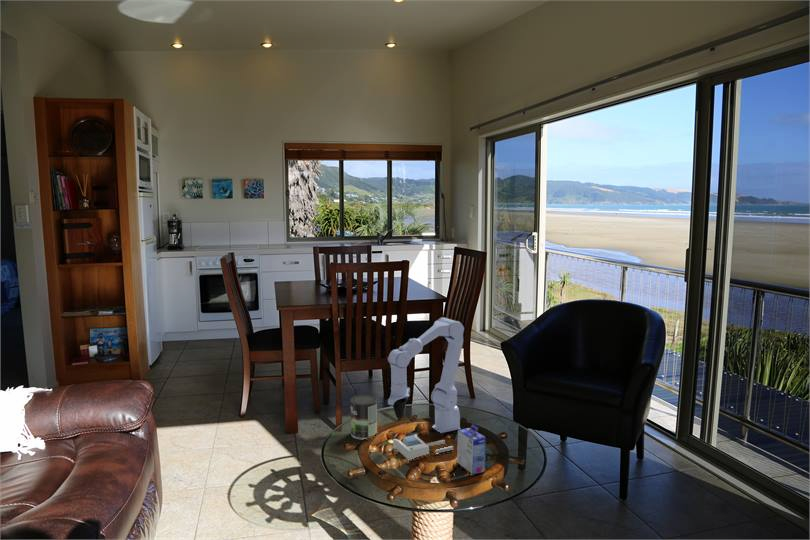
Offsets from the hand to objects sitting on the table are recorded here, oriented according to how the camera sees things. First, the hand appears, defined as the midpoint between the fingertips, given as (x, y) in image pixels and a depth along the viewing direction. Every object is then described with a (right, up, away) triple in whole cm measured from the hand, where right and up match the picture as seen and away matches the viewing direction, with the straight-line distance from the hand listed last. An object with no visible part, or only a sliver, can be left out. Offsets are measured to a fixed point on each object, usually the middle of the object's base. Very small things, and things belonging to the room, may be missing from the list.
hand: (399, 417), depth 214 cm
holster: (+15, -11, -6) cm, 19 cm away
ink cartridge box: (+25, -13, -19) cm, 33 cm away
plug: (+4, -11, -6) cm, 13 cm away
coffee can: (-14, -9, +9) cm, 19 cm away
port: (+5, -11, -8) cm, 14 cm away
